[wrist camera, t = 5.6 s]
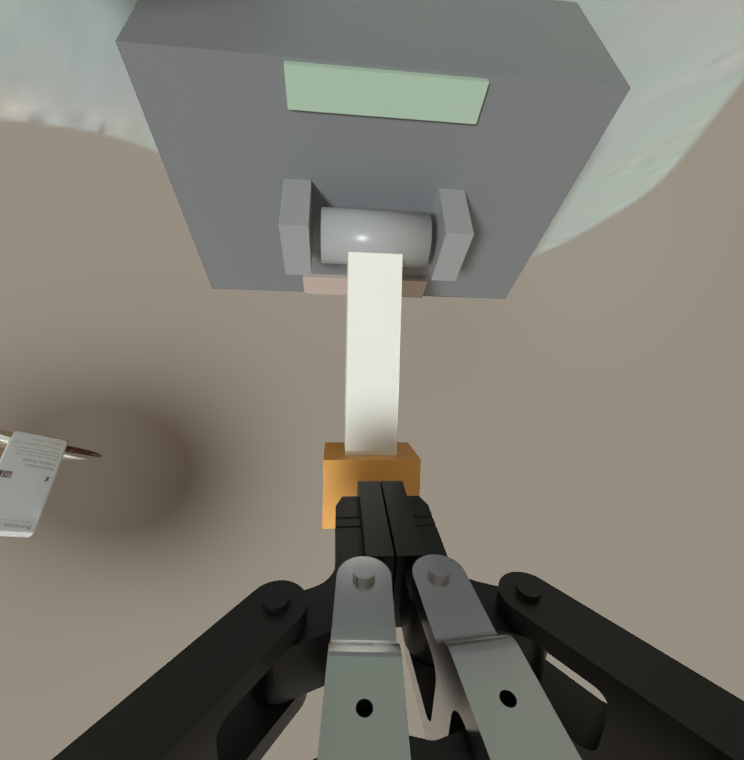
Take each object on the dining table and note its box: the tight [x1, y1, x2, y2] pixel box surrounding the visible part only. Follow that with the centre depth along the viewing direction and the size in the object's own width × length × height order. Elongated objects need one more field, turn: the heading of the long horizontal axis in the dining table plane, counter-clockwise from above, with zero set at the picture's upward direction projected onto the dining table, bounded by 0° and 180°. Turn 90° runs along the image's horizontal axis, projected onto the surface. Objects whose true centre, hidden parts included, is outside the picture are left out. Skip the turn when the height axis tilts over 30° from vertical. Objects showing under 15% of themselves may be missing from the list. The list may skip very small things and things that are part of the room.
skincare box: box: [0, 431, 68, 537], centre depth 50 cm, size 6×4×12 cm
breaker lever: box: [321, 207, 432, 529], centre depth 16 cm, size 4×3×12 cm
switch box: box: [116, 0, 630, 299], centre depth 17 cm, size 15×10×8 cm, turn 85°
